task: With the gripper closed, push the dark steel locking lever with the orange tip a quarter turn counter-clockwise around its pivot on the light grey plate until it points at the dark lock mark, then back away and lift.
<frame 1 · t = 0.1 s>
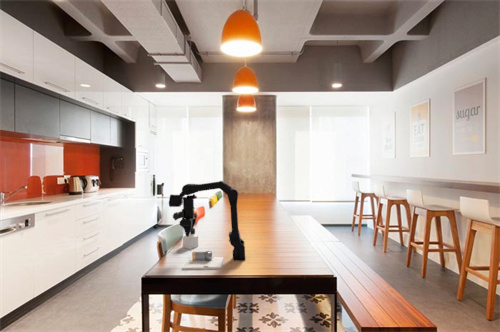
hand: (189, 234, 159), 14 cm above the table, tool pointing down, fingers open, 9 cm apart
lock lever: (202, 256, 156), point 3 cm above the table, hinge at 0.0°
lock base: (203, 264, 153), on the table
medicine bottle: (190, 247, 182), on the table
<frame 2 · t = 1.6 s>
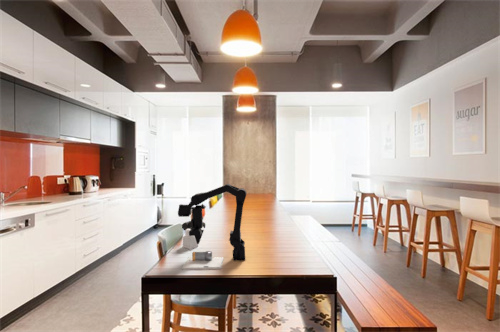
hand: (198, 243, 161), 9 cm above the table, tool pointing down, fingers closed
nothing on the table moved.
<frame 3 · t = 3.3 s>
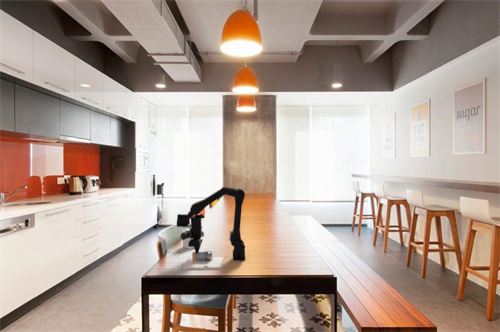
hand: (196, 253, 158), 4 cm above the table, tool pointing down, fingers closed
lock lever: (202, 256, 156), point 3 cm above the table, hinge at 1.3°, touching gripper
everything else where it was.
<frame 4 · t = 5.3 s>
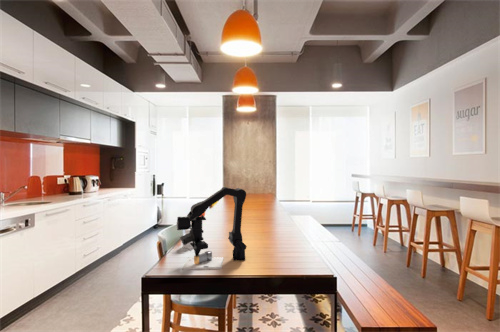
hand: (196, 256, 152), 4 cm above the table, tool pointing down, fingers closed, pressing on lock lever
lock lever: (203, 257, 154), point 3 cm above the table, hinge at 45.7°, touching gripper
everything else where it was.
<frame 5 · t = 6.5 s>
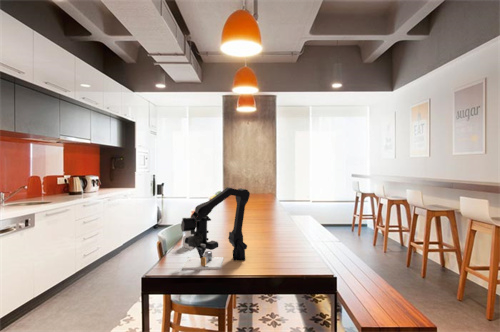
hand: (201, 258, 150), 4 cm above the table, tool pointing down, fingers closed
lock lever: (206, 258, 153), point 3 cm above the table, hinge at 78.9°, touching gripper
everything else where it was.
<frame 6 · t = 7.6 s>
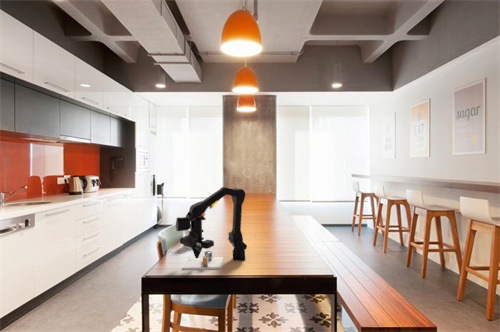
hand: (196, 258, 149), 5 cm above the table, tool pointing down, fingers closed
lock lever: (207, 258, 153), point 3 cm above the table, hinge at 86.9°
everything else where it was.
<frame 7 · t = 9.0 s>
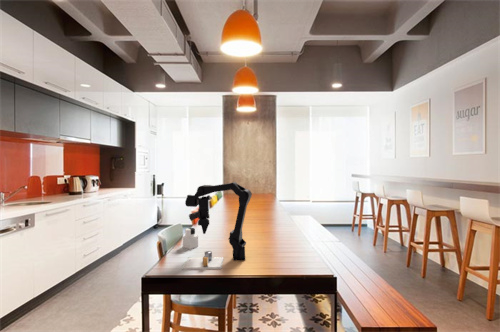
hand: (204, 233, 165), 13 cm above the table, tool pointing down, fingers closed
nothing on the table moved.
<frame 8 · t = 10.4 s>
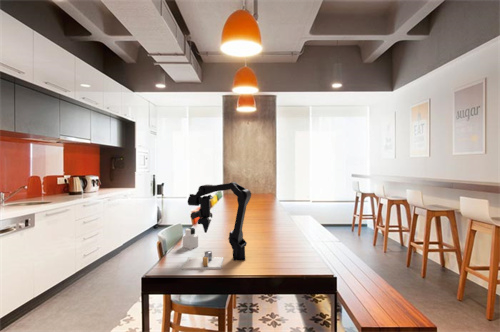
hand: (205, 232, 167), 13 cm above the table, tool pointing down, fingers closed
nothing on the table moved.
at the end: lock lever at +87° (first picture: +0°); the gripper is holding nothing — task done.
